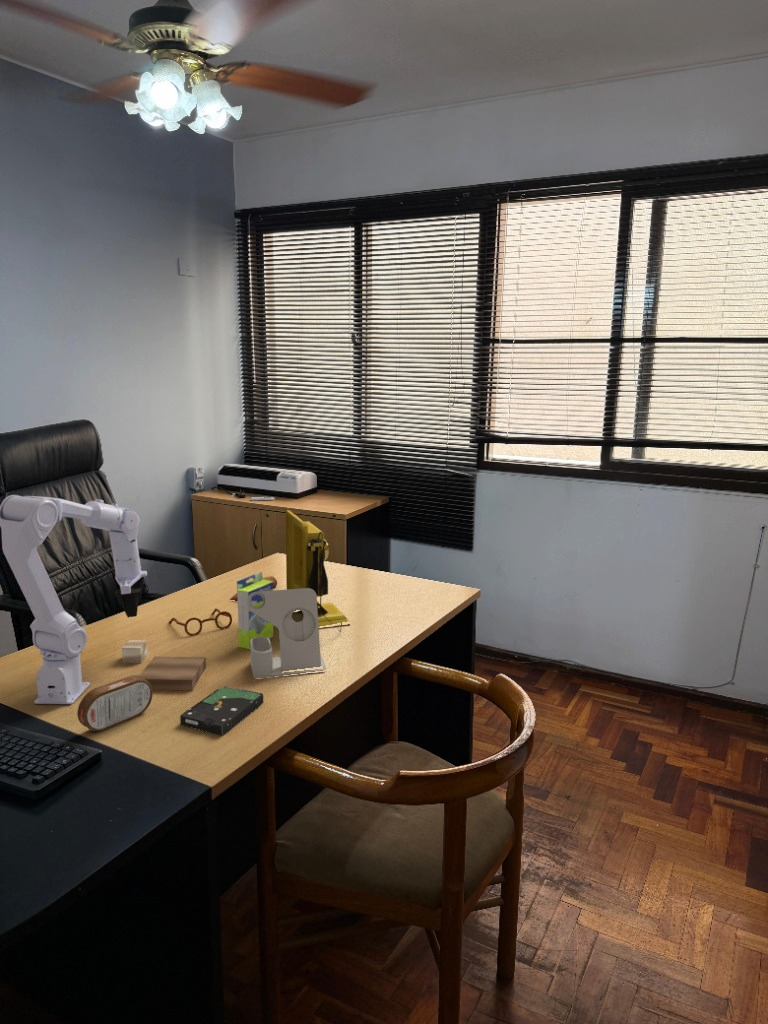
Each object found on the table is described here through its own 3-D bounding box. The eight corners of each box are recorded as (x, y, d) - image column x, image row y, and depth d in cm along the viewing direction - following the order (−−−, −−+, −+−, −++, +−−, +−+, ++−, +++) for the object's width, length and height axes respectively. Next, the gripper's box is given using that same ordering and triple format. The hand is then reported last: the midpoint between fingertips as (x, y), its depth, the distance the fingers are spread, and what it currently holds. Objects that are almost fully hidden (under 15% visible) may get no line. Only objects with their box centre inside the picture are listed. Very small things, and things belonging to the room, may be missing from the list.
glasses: (186, 639, 183) (185, 620, 182) (168, 623, 193) (167, 606, 192) (233, 628, 191) (232, 611, 190) (213, 614, 201) (213, 597, 200)
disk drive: (224, 739, 135) (264, 704, 149) (223, 726, 135) (264, 692, 148) (179, 728, 139) (223, 695, 153) (178, 715, 138) (222, 683, 152)
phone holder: (252, 679, 159) (250, 604, 156) (248, 661, 169) (246, 590, 165) (327, 672, 164) (327, 598, 160) (319, 655, 173) (319, 585, 170)
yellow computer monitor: (362, 637, 185) (363, 526, 179) (311, 644, 180) (311, 530, 174) (327, 600, 214) (327, 503, 207) (282, 605, 208) (281, 506, 202)
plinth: (192, 690, 154) (192, 679, 153) (137, 689, 154) (136, 678, 153) (206, 667, 165) (205, 657, 165) (154, 666, 165) (154, 656, 165)
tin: (147, 706, 147) (145, 668, 145) (156, 710, 145) (154, 672, 143) (77, 734, 135) (74, 693, 133) (86, 739, 133) (83, 698, 131)
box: (249, 650, 176) (248, 584, 172) (236, 647, 177) (234, 581, 174) (275, 636, 185) (274, 573, 181) (262, 633, 187) (261, 570, 183)
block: (141, 663, 167) (140, 647, 166) (122, 663, 167) (121, 647, 166) (147, 655, 171) (146, 640, 171) (129, 655, 171) (128, 640, 171)
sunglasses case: (253, 583, 228) (262, 567, 226) (270, 596, 227) (280, 580, 225) (227, 601, 211) (237, 584, 209) (246, 614, 210) (256, 597, 208)
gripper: (140, 566, 159) (148, 620, 163) (147, 544, 172) (154, 595, 177) (107, 569, 158) (116, 624, 162) (117, 547, 171) (125, 598, 175)
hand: (134, 609), depth 169 cm, fingers open, 7 cm apart
